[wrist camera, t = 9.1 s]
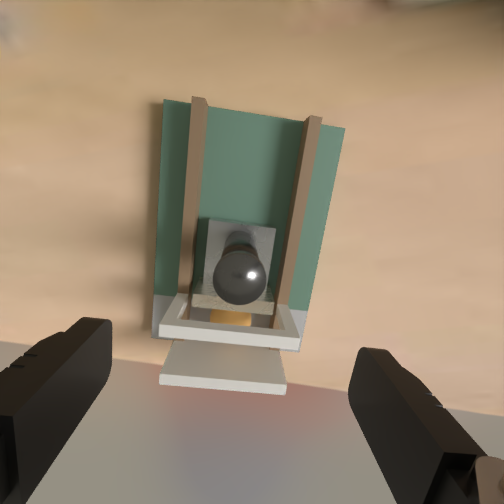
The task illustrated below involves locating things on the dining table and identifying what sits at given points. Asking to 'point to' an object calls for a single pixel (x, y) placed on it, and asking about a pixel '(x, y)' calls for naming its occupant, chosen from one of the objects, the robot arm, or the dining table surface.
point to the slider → (236, 268)
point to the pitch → (244, 210)
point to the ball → (230, 317)
